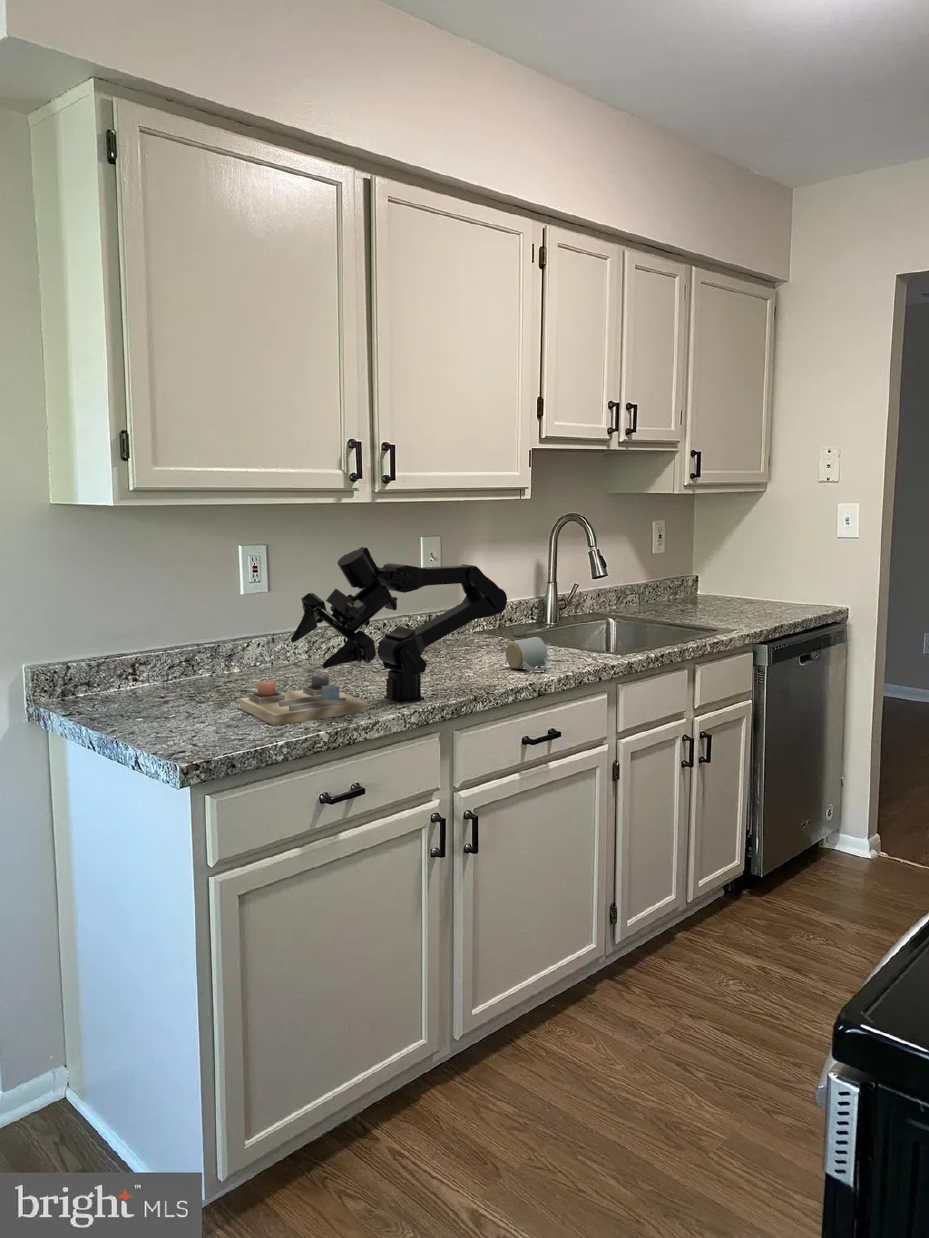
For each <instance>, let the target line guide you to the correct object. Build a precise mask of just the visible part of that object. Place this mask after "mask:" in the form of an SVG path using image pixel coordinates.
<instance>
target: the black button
mask: <svg viewBox="0 0 929 1238" xmlns="http://www.w3.org/2000/svg"><path fill="white" fill-rule="evenodd" d="M310 677H311V686H312V687H313V688H322V686H327V685H330V675H329V674H324V673H323V674H321V673H320V674H319V673H318V674H312V675H311V676H310Z"/></svg>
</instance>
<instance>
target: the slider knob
mask: <svg viewBox="0 0 929 1238" xmlns="http://www.w3.org/2000/svg"><path fill="white" fill-rule="evenodd" d="M339 691H340V687H339V686H336V685H334V684H329V685H327V686H322V700H330V699H337V698H340V695H339Z"/></svg>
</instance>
